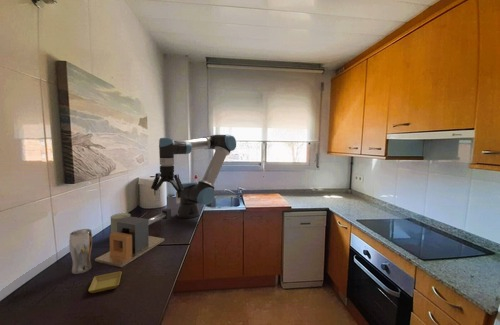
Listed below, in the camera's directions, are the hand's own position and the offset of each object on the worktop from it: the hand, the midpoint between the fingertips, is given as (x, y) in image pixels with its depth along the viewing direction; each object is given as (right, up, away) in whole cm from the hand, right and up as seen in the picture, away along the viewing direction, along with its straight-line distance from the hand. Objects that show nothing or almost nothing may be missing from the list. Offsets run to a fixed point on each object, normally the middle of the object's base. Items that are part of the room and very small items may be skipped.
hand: (167, 202), depth 122 cm
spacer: (-9, -18, -29) cm, 35 cm away
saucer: (-3, -21, -47) cm, 52 cm away
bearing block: (-7, -18, -22) cm, 30 cm away
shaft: (-4, -10, -11) cm, 15 cm away
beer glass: (-18, -19, -39) cm, 47 cm away
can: (-21, -17, -9) cm, 29 cm away
